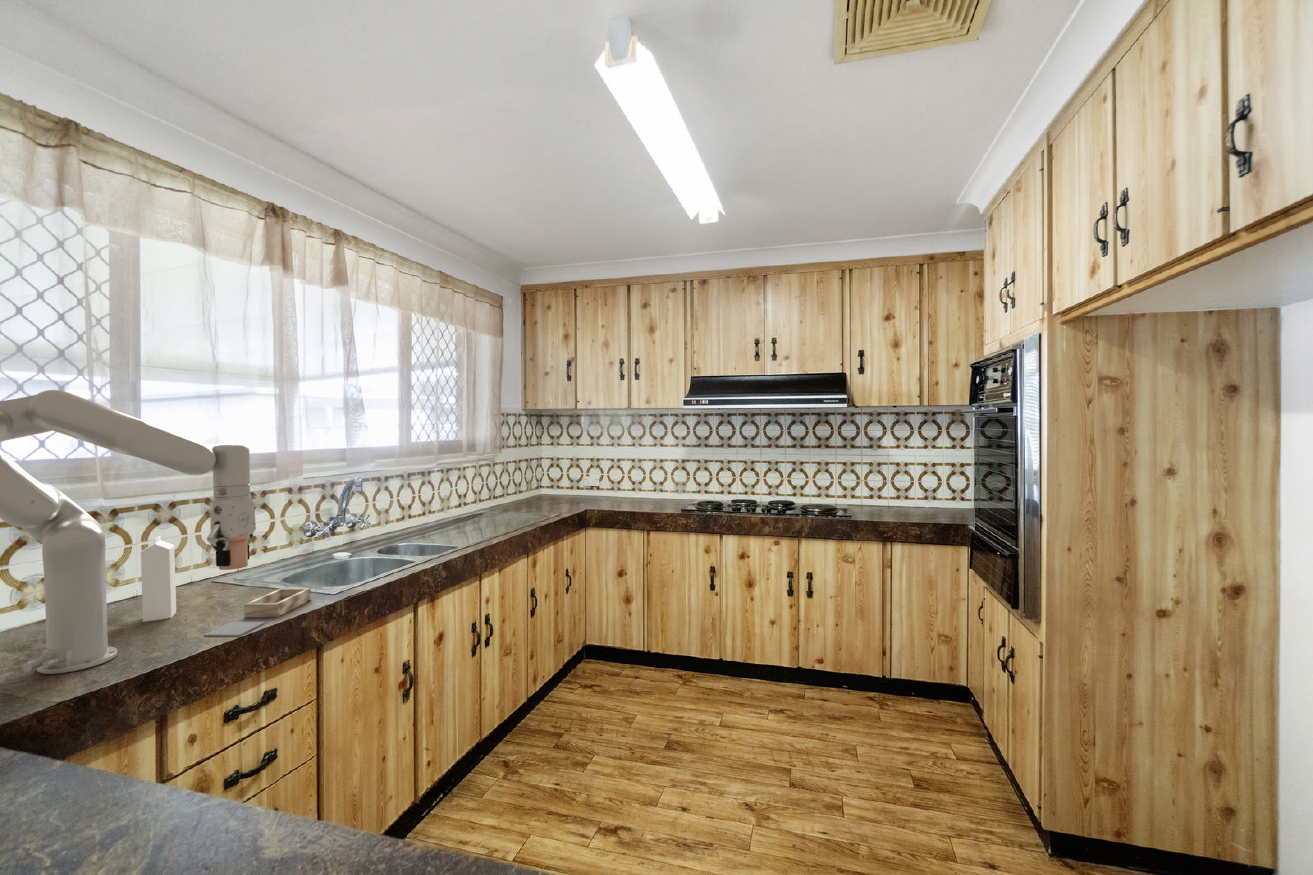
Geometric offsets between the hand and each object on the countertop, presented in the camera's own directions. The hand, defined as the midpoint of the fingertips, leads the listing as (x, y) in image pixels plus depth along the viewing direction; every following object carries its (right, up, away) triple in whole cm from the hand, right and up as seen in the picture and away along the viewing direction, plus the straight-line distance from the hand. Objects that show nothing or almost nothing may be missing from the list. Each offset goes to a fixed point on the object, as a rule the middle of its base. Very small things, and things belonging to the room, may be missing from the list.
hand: (233, 562), depth 147 cm
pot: (0, -1, 0) cm, 1 cm away
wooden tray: (0, -17, +17) cm, 24 cm away
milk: (-28, -17, +11) cm, 34 cm away
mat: (0, -17, 0) cm, 17 cm away
